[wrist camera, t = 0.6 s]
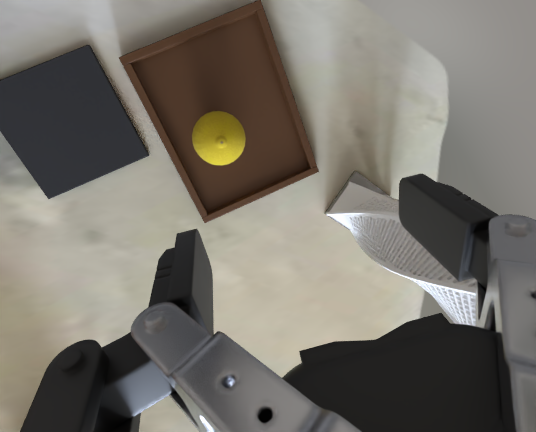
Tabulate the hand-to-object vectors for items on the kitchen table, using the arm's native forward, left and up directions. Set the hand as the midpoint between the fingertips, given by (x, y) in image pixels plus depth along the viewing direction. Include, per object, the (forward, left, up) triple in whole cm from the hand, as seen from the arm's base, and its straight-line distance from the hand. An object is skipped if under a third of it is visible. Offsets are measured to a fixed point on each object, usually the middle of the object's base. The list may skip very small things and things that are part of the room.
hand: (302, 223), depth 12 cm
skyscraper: (+14, +12, -28) cm, 33 cm away
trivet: (-9, -15, -28) cm, 33 cm away
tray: (-3, +1, -28) cm, 28 cm away
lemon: (-2, -1, -28) cm, 28 cm away
